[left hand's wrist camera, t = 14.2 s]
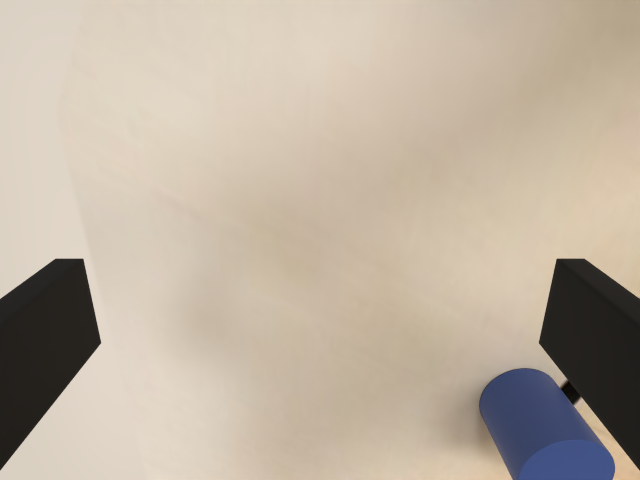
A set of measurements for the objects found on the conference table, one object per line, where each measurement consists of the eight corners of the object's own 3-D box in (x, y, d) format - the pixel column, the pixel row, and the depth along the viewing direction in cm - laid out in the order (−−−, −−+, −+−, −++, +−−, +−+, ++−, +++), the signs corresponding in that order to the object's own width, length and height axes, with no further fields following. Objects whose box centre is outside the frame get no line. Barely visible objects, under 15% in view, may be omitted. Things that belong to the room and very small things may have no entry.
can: (470, 427, 43) (505, 507, 35) (491, 364, 40) (533, 435, 32) (544, 434, 43) (595, 515, 35) (569, 372, 40) (630, 444, 33)
